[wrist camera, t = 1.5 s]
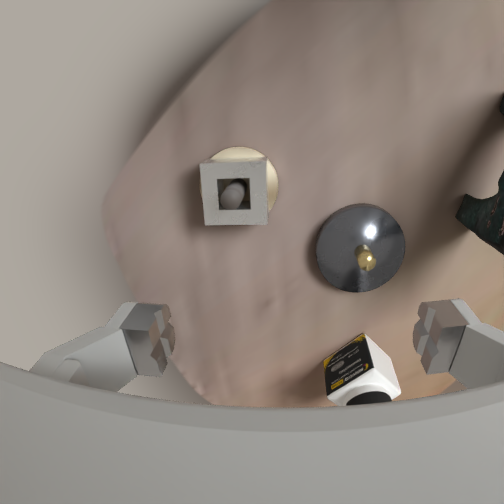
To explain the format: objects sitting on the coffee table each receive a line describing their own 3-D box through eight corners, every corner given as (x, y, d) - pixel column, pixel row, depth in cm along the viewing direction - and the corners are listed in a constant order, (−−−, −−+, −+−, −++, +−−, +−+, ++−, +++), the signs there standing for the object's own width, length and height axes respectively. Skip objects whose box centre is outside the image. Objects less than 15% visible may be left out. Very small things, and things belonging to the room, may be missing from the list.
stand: (199, 148, 32) (181, 157, 26) (277, 145, 31) (276, 152, 26) (205, 221, 35) (190, 243, 30) (278, 220, 34) (277, 242, 29)
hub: (316, 202, 33) (320, 214, 30) (405, 204, 32) (419, 216, 28) (313, 286, 37) (316, 305, 34) (394, 285, 36) (403, 303, 33)
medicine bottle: (363, 331, 39) (382, 401, 29) (390, 357, 41) (411, 423, 30) (322, 360, 42) (328, 430, 31) (351, 383, 44) (362, 449, 33)
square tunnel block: (207, 158, 31) (199, 163, 29) (267, 156, 31) (265, 161, 28) (211, 215, 34) (205, 225, 31) (269, 214, 33) (267, 224, 30)
